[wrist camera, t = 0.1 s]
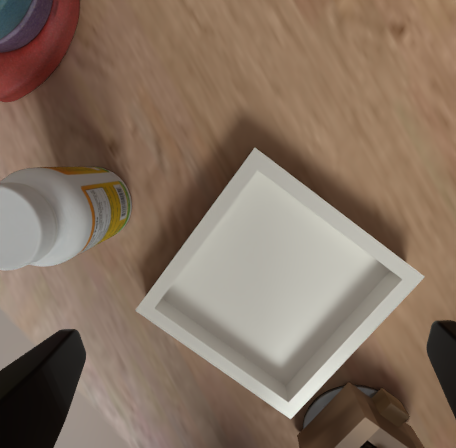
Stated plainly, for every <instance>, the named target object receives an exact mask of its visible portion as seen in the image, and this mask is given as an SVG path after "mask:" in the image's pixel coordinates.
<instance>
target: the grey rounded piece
mask: <svg viewBox="0 0 456 448" xmlns="http://www.w3.org/2000/svg"><path fill="white" fill-rule="evenodd" d="M354 386H355V387H357V388H358V389H359V390H361V391H362V392H363V393H365V394H366V395H368V396H369V397H370V398H372V397H373V396H374V395H375V394H376V393H377V392H378V390H376V389H373V388H370V387H366V386H361V385H354ZM344 387H345V386H341V387H337V388H334V389H331V390H329V391H327V392H325V393H323V394H322V395H320V396H319V397H318V398H317V399H316V400H315V401H314V402H313V403H312V404H311V405H310V407H309V408H308V410H307V412H306V414H305V417H304V421H303V429H304V428H305V427H306V426H307V425H308V424H309V423H310V422H311V421H312V420H313V419H314V418H315V417H316V416H317V415H318V414H319V413H320V411H321V410H322V409H323V408H324V407H325V406H326V405H327V404H328V403H329V402H330V401H331V400H332V399H333V398H334V397H335V396H336V395H337V394H338V393H339V392H340V391H341V390H342V389H343V388H344ZM360 448H374V446H373V444H372V443H370V442H369V441H368V440H367V441H366V442H365V443H364V444H363V445H362V446H361V447H360Z"/></svg>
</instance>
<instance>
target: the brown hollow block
mask: <svg viewBox="0 0 456 448" xmlns="http://www.w3.org/2000/svg"><path fill="white" fill-rule="evenodd" d="M409 417H410V416H409V415H408V413H407V411H406V410H405V408H404V407H403V405H402V404H401V402H400V401H399V400H398V399H397V398H395V397H394V396H392V395H391V394H390V393H388V392H387V391H386V390H384V389H383V388H381V389H380V390H379V391H378V392H377V393H376V394H375V395H374V396H373V397H372V398H370V397H369V396H368V395H366V394H365V393H363V392H362V391H361V390H359V389H358V388H357V387H355V386H354V385H352V384H351V383H350V382H348V383H347V384H346V385H345V387H344V388H343V389H342V390H341V391H340V392H339V393H338V394H337V395H336V396H335V397H334V398H333V399H332V400H331V401H330V402H329V403H328V404H327V405H326V406H325V407H324V408H323V409H322V410H321V411H320V413H319V414H318V415H317V416H316V417H315V418H314V419H313V420H312V421H311V422H310V423H309V424H308V425H307V426H306V427H305V428H304V429H303V430H302V431H301V432H300V433H299V434H298V435H297V437H298V442H299V448H360V447H361V446H362V445H363V444H364V443H365V442H366V441H367V440H368V441H369V442H370V443H372V444H373V446H374V448H424V446H423V445H422V443H421V442H420V440H419V438H418V437H417V435H416V434H415V432H414V430H413V429H412V427H411V426H409V425H408V424H407V423H405V421H406V420H407V419H408V418H409Z"/></svg>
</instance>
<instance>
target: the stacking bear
mask: <svg viewBox="0 0 456 448" xmlns="http://www.w3.org/2000/svg"><path fill="white" fill-rule="evenodd" d="M79 8H80V2H79V0H0V101H2V102H11V101H15V100H17V99H19V98H21V97H23V96H25V95H26V94H28V93H30V92H31V91H33V90H34V89H35V88H36V87H38V86H39V85H40V84H41V83H42V82H44V81H45V80H46V79H47V78H48V76H49V75H50V74H51V73H52V72H53V71H54V70H55V68H56V67H57V66H58V64H59V63H60V61H61V60H62V58H63V56H64V55H65V53H66V51H67V49H68V47H69V45H70V43H71V41H72V38H73V35H74V33H75V29H76V26H77V23H78V18H79Z"/></svg>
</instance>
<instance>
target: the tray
mask: <svg viewBox="0 0 456 448" xmlns="http://www.w3.org/2000/svg"><path fill="white" fill-rule="evenodd" d="M423 278H424V276H423V275H422V274H420V273H419V272H418V271H417V270H415V269H414V268H413V267H411V266H410V265H409V264H407V263H406V262H405V261H403V260H402V259H401V258H399V257H398V256H397V255H396V254H394V253H393V252H392V251H390V250H389V249H388V248H386V247H385V246H384V245H382V244H381V243H380V242H378V241H377V240H376V239H375V238H373V237H372V236H371V235H369V234H368V233H367V232H365V231H364V230H363V229H361V228H360V227H359V226H357V225H356V224H355V223H354V222H352V221H351V220H350V219H348V218H347V217H346V216H344V215H343V214H342V213H340V212H339V211H338V210H336V209H335V208H334V207H332V206H331V205H330V204H329V203H327V202H326V201H325V200H323V199H322V198H321V197H319V196H318V195H317V194H315V193H314V192H313V191H311V190H310V189H309V188H308V187H306V186H305V185H304V184H302V183H301V182H300V181H298V180H297V179H296V178H294V177H293V176H292V175H290V174H289V173H288V172H287V171H285V170H284V169H283V168H281V167H280V166H279V165H277V164H276V163H275V162H273V161H272V160H271V159H269V158H268V157H267V156H266V155H264V154H263V153H262V152H260V151H259V150H258V149H256V148H254V149H253V151H252V152H251V153H250V155H249V156H248V157H247V159H246V160H245V162H244V163H243V164H242V166H241V167H240V168H239V170H238V171H237V172H236V174H235V175H234V176H233V178H232V179H231V181H230V182H229V183H228V185H227V186H226V187H225V189H224V190H223V191H222V193H221V194H220V196H219V197H218V198H217V200H216V201H215V202H214V204H213V205H212V206H211V208H210V209H209V211H208V212H207V213H206V215H205V216H204V217H203V219H202V220H201V221H200V223H199V224H198V226H197V227H196V228H195V230H194V231H193V232H192V234H191V235H190V236H189V238H188V239H187V241H186V242H185V243H184V245H183V246H182V247H181V249H180V250H179V251H178V253H177V254H176V256H175V257H174V258H173V260H172V261H171V262H170V264H169V265H168V266H167V268H166V269H165V271H164V272H163V273H162V275H161V276H160V277H159V279H158V280H157V281H156V283H155V284H154V286H153V287H152V288H151V290H150V291H149V292H148V294H147V295H146V296H145V298H144V299H143V300H142V302H141V303H140V305H139V306H138V307H137V309H136V310H135V311H137V312H138V313H140V314H141V315H142V316H144V317H145V318H147V319H148V320H150V321H151V322H152V323H154V324H155V325H157V326H158V327H160V328H161V329H162V330H164V331H165V332H167V333H168V334H170V335H171V336H172V337H174V338H175V339H177V340H178V341H180V342H181V343H182V344H184V345H185V346H187V347H188V348H190V349H191V350H192V351H194V352H195V353H197V354H198V355H200V356H201V357H202V358H204V359H205V360H207V361H208V362H210V363H211V364H212V365H214V366H215V367H217V368H218V369H220V370H221V371H222V372H224V373H225V374H227V375H228V376H230V377H231V378H232V379H234V380H235V381H237V382H238V383H240V384H241V385H242V386H244V387H245V388H247V389H248V390H250V391H251V392H252V393H254V394H255V395H257V396H258V397H260V398H261V399H262V400H264V401H265V402H267V403H268V404H270V405H271V406H272V407H274V408H275V409H277V410H278V411H280V412H281V413H282V414H284V415H285V416H287V417H288V418H290V419H291V418H292V417H293V416H294V415H295V414H296V413H297V412H298V411H299V410H300V409H301V408H302V407H303V406H304V405H305V404H306V402H307V401H308V400H309V399H310V398H311V397H312V396H313V395H314V394H315V393H316V392H317V391H318V390H319V389H320V388H321V387H322V385H323V384H324V383H325V382H326V381H327V380H328V379H329V378H330V377H331V376H332V375H333V374H334V373H335V372H336V371H337V370H338V368H339V367H340V366H341V365H342V364H343V363H344V362H345V361H346V360H347V359H348V358H349V357H350V356H351V355H352V354H353V353H354V351H355V350H356V349H357V348H358V347H359V346H360V345H361V344H362V343H363V342H364V341H365V340H366V339H367V338H368V337H369V336H370V335H371V333H372V332H373V331H374V330H375V329H376V328H377V327H378V326H379V325H380V324H381V323H382V322H383V321H384V320H385V319H386V318H387V316H388V315H389V314H390V313H391V312H392V311H393V310H394V309H395V308H396V307H397V306H398V305H399V304H400V303H401V302H402V301H403V299H404V298H405V297H406V296H407V295H408V294H409V293H410V292H411V291H412V290H413V289H414V288H415V287H416V286H417V285H418V284H419V282H420V281H421V280H422V279H423Z"/></svg>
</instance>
